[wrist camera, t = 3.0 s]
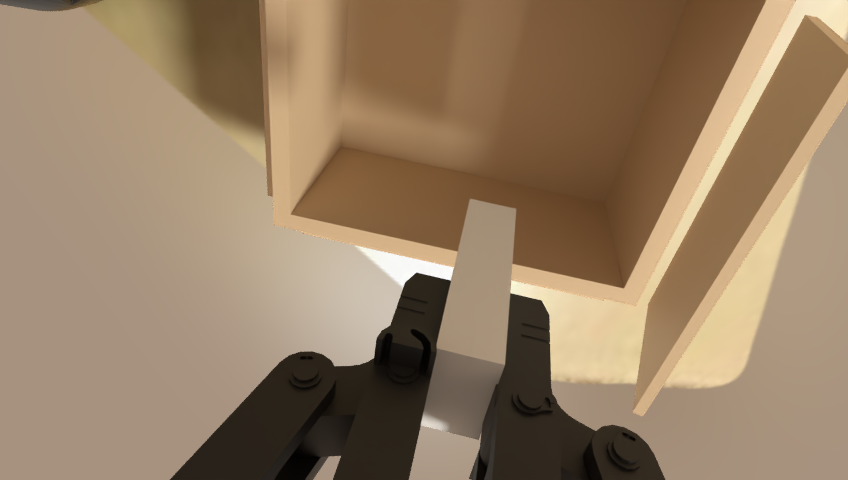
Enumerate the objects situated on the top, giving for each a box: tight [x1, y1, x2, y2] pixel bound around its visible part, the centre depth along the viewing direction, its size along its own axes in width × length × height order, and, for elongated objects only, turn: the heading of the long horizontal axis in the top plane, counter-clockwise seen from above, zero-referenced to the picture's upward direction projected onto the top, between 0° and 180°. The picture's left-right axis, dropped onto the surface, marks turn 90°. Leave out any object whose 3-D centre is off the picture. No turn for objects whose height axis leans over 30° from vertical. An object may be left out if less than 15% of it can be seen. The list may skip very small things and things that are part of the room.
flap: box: [633, 15, 848, 416], centre depth 19 cm, size 8×14×1 cm
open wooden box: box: [259, 0, 796, 306], centre depth 28 cm, size 22×18×10 cm
